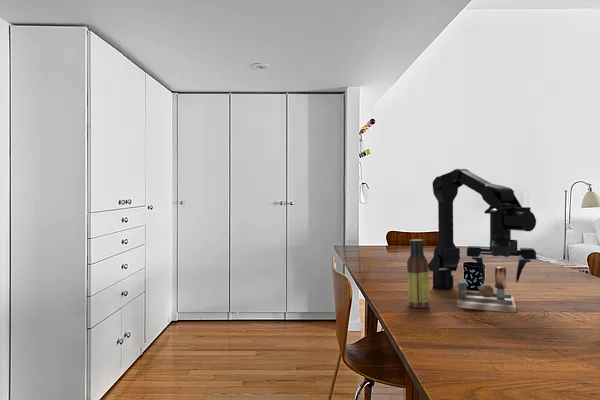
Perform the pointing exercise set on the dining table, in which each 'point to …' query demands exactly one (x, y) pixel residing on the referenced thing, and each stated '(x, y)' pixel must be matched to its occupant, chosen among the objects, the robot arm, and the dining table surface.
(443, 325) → the dining table surface
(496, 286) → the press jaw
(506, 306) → the nutcracker board
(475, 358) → the dining table surface
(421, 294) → the sauce bottle
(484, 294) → the walnut
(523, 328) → the dining table surface
